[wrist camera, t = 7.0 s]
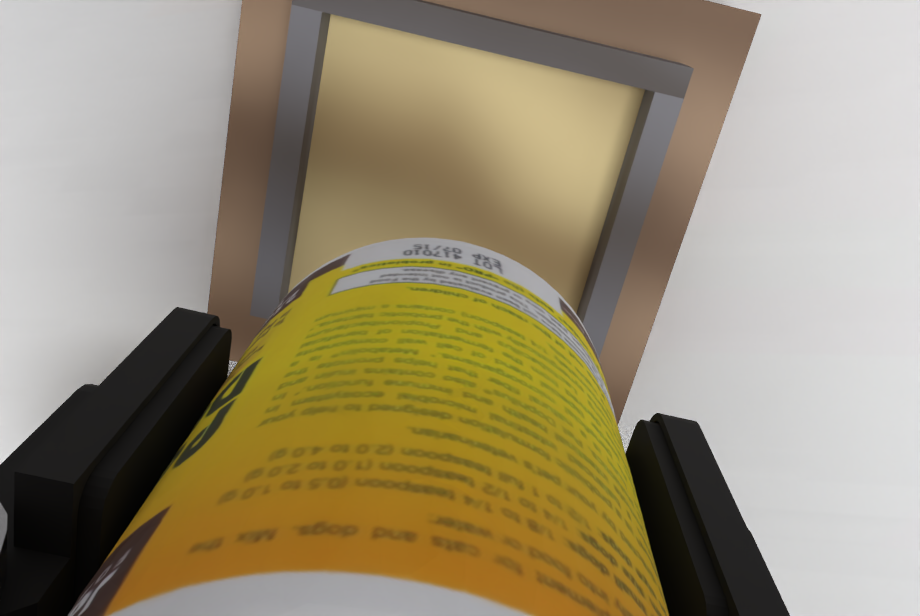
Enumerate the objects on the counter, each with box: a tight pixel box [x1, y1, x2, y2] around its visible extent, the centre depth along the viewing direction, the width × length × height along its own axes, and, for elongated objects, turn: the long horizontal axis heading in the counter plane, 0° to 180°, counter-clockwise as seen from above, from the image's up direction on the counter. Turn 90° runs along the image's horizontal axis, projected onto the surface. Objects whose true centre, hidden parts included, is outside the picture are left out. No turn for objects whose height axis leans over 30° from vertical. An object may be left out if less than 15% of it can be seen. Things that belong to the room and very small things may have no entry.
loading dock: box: [207, 0, 761, 425], centre depth 25 cm, size 14×14×4 cm
